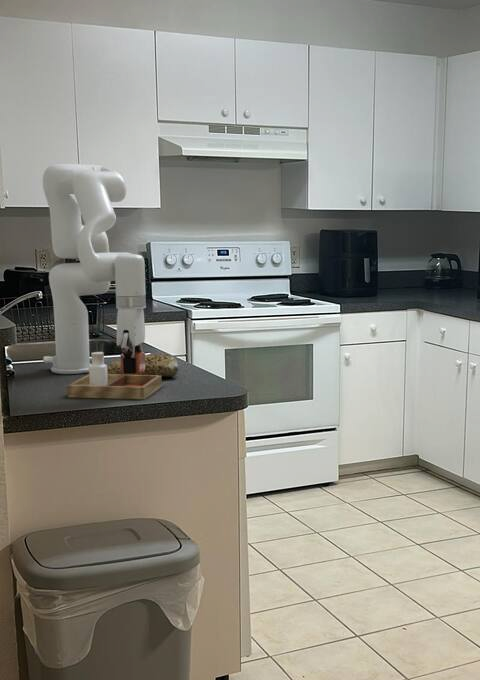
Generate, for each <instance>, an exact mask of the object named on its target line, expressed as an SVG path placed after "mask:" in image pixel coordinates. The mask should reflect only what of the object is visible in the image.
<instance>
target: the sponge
mask: <svg viewBox="0 0 480 680" xmlns="http://www.w3.org/2000/svg"><path fill="white" fill-rule="evenodd" d="M179 371H180V370H179V361H177V359H176V358H175V357H174V356H173V355H168V354H162V353H161V354H159V353H156V354H147V355H146V354H145V371H144V372H142V373H140V374H122V375H161V377H173V376H176V375H177V374H178V372H179ZM107 374H121V359H117V360H115V361H112V362H110V363H109V365H108V366H107Z"/></svg>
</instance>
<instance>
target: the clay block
mask: <svg viewBox="0 0 480 680" xmlns="http://www.w3.org/2000/svg"><path fill="white" fill-rule="evenodd" d="M145 356H146V351H143V352H135V354H134V358H136V373H134V374H140V373H142V372H144V371H145ZM119 358H120V360H121V374H132V373H124V371H123V353H121V354H120V357H119Z"/></svg>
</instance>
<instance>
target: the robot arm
mask: <svg viewBox="0 0 480 680" xmlns="http://www.w3.org/2000/svg"><path fill="white" fill-rule="evenodd" d="M42 187H43V188H42V189H43V193H44V197H45V200H46V202H47V205H48V209H49V216H50V217H49V218H50V233H51V244H52V251H53V253H54V255H55V256H56V257H57V258H61V259H78V260H79V262H66V263H60V264H57V265H55V266H53V267H52V268H51V269H50V271H49V273H48V283H49V288H50V291H51V296H52V298H51V299H52V303H53V305H52V306H53V318H54V319H53V320H54V321H53V322H54V342H55V355H53V356H48V355H47V356H43V357H42V363H44V364H51V365H52V366H51V367H50V371H51V372H52V373H53V374H58V375H59V374H60V375H78V374H79V375H80V374H86V373H89V366H90V365H92V363H91V356H90V331H89V329H90V328H89V312H88V309H87V306H86V305H85V304H84V302H83V300H81V298H80V297H83V296H96V295H103V294H105V293H107V292H108V291H109V289H110V287H111V282H115V307H116V309H117V314H116V346H117V347H119V348H120V349H121V352H122V354H123V371H124V373H132V374H134V373H136V358H134V354H135V352H144V351H143V343H144V342H145V340H146V323H145V312H144V309H146V308H147V298H146V297H147V296H146V295H147V294H146V265H145V263H146V262H145V258H144V256H143V255H140V254H138V253H137V254H136V253H135V254H134V253H131V252H127V251H126V252H125V251H119V252H117V251H116V252H114V251H113V252H111V251H110V244H109V239H108V235H107V233H106V231H109V230H110V229H111V228H113V227H114V226H115V224H116V223H117V215H116V213H115V210H114V207H113V205H112V203H120V202H122V201H123V200H124V199H125V198H126V195H127V185H126V181H125V179H124V177H123V176H122V175H121V174H120V173H119V172H118V171H116V170H114V169H111V168H109V167H107V166H104V165H101V164H87V163H85V164H84V163H56V164H51V165H49V166H47V167H46V168H45V170H44V171H43V176H42ZM72 195H74V197H75V198H73V196H72ZM82 220H83V222H82ZM83 223H84V224H83Z"/></svg>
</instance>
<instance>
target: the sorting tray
mask: <svg viewBox="0 0 480 680" xmlns="http://www.w3.org/2000/svg"><path fill="white" fill-rule="evenodd" d="M107 378H108V385H106V386H96V385H90V379H89V373H88V374H86V375H85V376H83V377H81V378H78V379H77V380H75V381H74V382H71V383H69V384H68V385H67V398H78V399H79V398H82V399H113V400H114V399H115V400H116V399H117V400H118V399H119V400H145V399H147V398H148V397H150V396H151V395H153V393H155V392H156V391H158V390H159V389H161V388H162V387H163V382H162V380H163V379H162V376H161V375H122V374H108V373H107Z"/></svg>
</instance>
